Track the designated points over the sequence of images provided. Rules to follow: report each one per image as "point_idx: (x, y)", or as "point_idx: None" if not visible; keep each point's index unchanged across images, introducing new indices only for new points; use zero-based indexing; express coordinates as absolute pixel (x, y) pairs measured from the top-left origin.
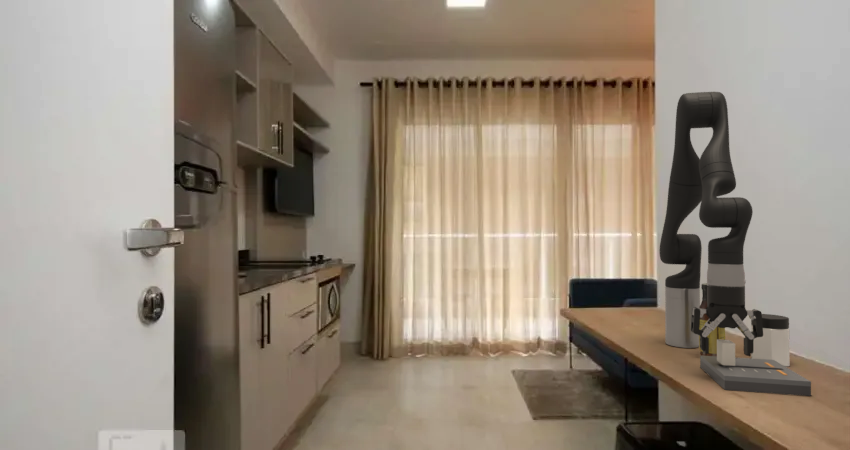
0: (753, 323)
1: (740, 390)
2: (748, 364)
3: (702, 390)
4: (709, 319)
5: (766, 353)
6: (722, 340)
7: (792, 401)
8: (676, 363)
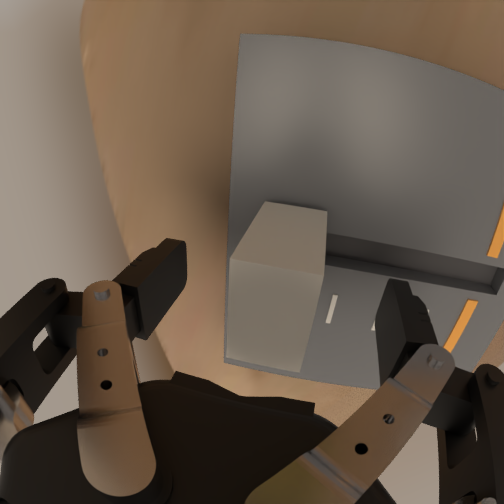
0: (473, 460)
1: None
2: (421, 213)
3: (176, 332)
4: (83, 389)
5: None
6: (257, 298)
7: (366, 395)
8: (173, 3)
